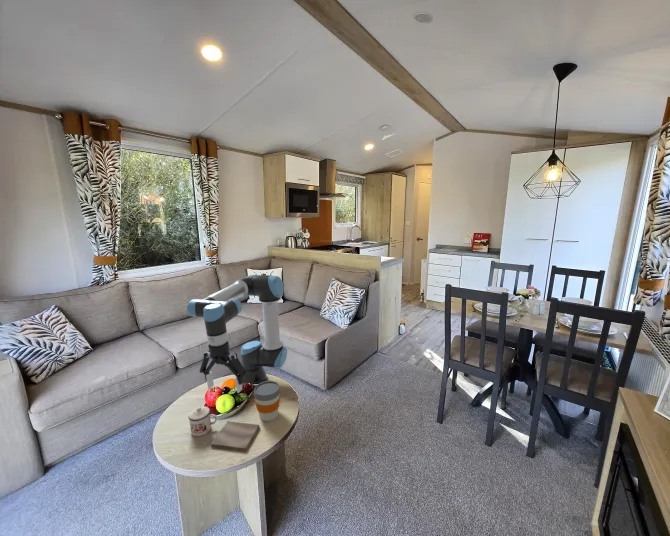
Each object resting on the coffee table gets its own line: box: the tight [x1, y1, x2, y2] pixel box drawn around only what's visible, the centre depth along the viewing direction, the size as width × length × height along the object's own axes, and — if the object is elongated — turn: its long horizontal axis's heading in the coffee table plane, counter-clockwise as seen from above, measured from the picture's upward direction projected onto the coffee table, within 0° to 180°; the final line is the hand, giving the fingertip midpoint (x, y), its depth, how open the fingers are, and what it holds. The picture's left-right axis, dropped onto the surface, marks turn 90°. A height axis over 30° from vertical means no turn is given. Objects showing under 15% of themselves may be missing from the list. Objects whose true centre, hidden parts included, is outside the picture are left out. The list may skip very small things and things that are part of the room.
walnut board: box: [210, 420, 260, 452], centre depth 134 cm, size 14×16×2 cm
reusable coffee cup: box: [253, 380, 281, 422], centre depth 146 cm, size 12×13×15 cm
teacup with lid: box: [188, 406, 218, 437], centre depth 137 cm, size 12×9×12 cm
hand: (225, 388), depth 124 cm, fingers open, 13 cm apart
